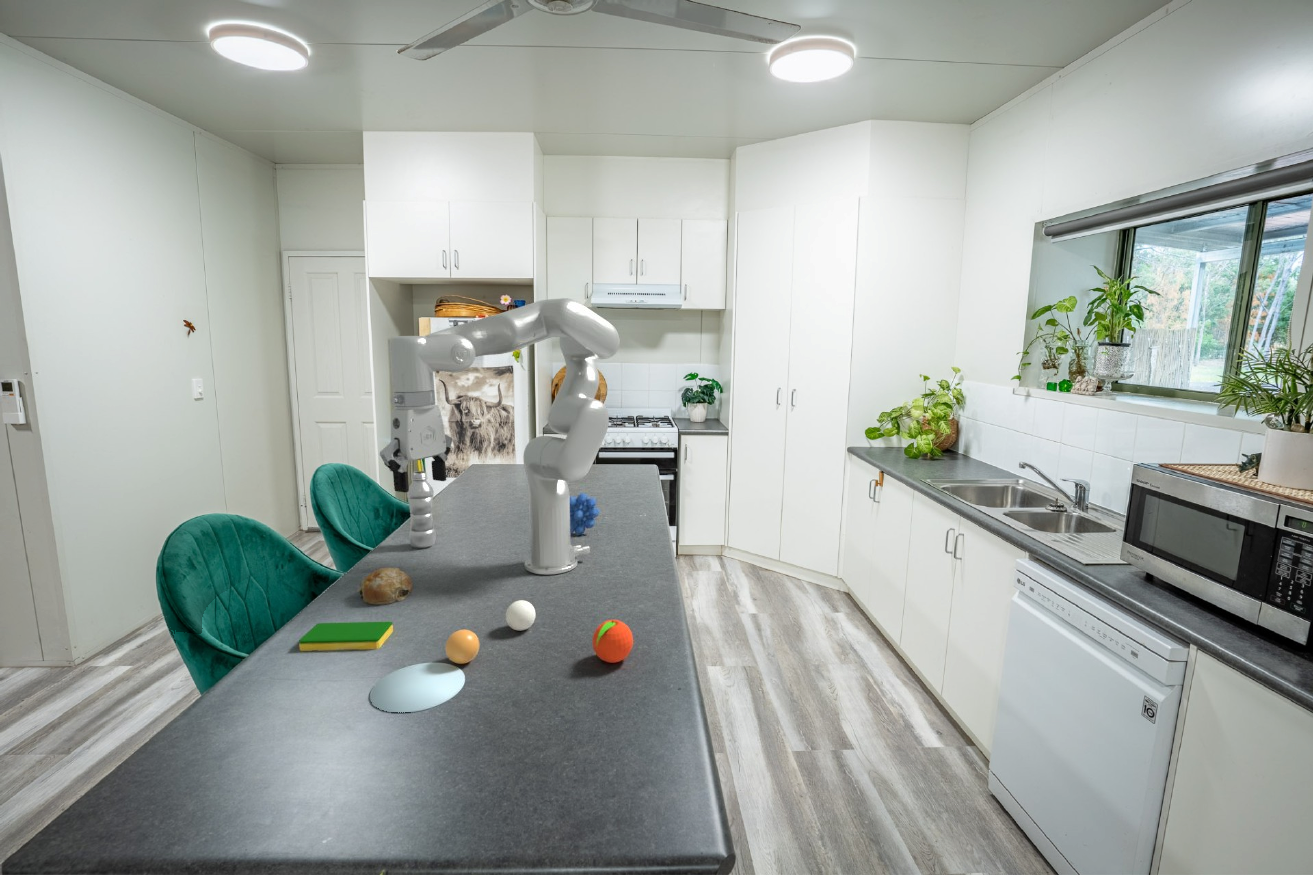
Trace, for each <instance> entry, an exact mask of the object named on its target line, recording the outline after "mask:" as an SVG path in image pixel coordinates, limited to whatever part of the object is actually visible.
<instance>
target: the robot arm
mask: <svg viewBox="0 0 1313 875" xmlns="http://www.w3.org/2000/svg"><path fill="white" fill-rule="evenodd" d="M551 338H558V339H559V340H558V343H559V348H560V351H561V353H562V355H563V359H564V362H565V375H564V378H563V381H562V383H561V385H560V388H559V389H558V392H557V394H556V396H555V398H554V401H553V402H552V404H551V406H550V409H549V411H548V413H547V418H546V419H547V425H548V427H549V428H550V430H551V431H553V432H554V433H556V434H559V435H561V436H562V435H563V436H566V437H565V438H563V437H559V436H558V437H557V436H550V435H540V436H537V437H533V438H532V439H531V440H529V442H528V443H527V444H526V446H525V449H524V451H523V466H524V470H525V473H526V480H527V487H528V488H527V489H528V504H529V505H528V507H529V509H528V510H529V537H530V538H529V539H530V541H529V542H530V557H528V558H527V559H526V560H525V561H524V568H525V570H526V571H528V572H530V573H533V574H536V575H556V574H557V575H558V574H564V573H567V572H569V571H572V570H573V569H575V568H576V567H577V566H578V557H579V556H581V555H588V554H590V553H591V549H590V548H591V547H590V546H589V545H584V546H582V545H581V544H578V545H572V544H571V542H572V541H571V534H570V497H571V496H570V489H569V485H568V483H576V482H579V481H581V480H582V479H584V478H585V477H586V476H587V474H588V473H589V472H590V469H591V468H592V466H593V464H594V461H595V460H596V457H597V455H598V452H599V450H600V448H601V446H602V443H603V442H604V439H605V436H606V433H608V432H607V431H608V429H609V422H610V419H609V418H610V417H609V411H608V409H607V407H606V405H605V404H604V403H603V401H601V400H599V399H596V398H595V397H596V395H597V391H598V389H599V386H600V373H599V370H598V367H597V363H596V361H595V360H608V359H610V358H612V357H614V356H615V355H616V354H617V352H618V350H619V349H620V345H621V344H620V343H621V340H620V335H619V333H618V331H617V329H616V327H615V326H614V325H612V323H610V322H609V321H608V320H607V319H605V318H604V317H602V316H600V315H598V314H597V313H596V312H595V311H593V310H591V309H590V308H588V307H587V306H585V305H583V304H582V303H581V302H579V301H577V300H574V299H572V298H549V299H542V300H538V301H535V302H532V303H529V304H524V305H522V306H520V307H516V308H513V309H510V310H507V311H503V312H500V313H497V314H493V315H489V316H486V317H482V318H480V319H477V320H473V321H469V322H465V323H462V324H458V325H453V326H451V327H447V328H444V329H441V330H438V331H435V332H432V333H429V334H426V335H424V336H423V335H400V336H399V335H398V336H393V337H392V338H391V339H390V340H389V342H388V343H389V345H388V347H389V350H388V351H389V360H390V371H391V380H392V382H391V383H392V384H391V385H392V395H393V396H391V397H390V398H389V400H390V403H391V404H393V406H394V408H392V410H391V417H390V420H391V421H390V442H389V443H388V444H387V445H386V446H385V447H384V448H383V449H382V450H380V452H379V456H380V458H381V459H382V462H383V463H384V465H385V466H386V467H387V469H389V472H392V476H393V478H392V479H393V486H394V487H393V488H394V491H395V492H398V493H406V494H407V492H408V491H409V487H410V484H409V475H408V471H406V468H407V466H408V464H409V462H414V461H420V460H425V459H429V458H432V459H433V460H431V472H432V473H431V474H432V480H433V481H437V482H438V481H439V482H445V481H447V470H446V462H447V461H448V460H449V459H448V456H449V454H450V453H451V447H452V443H453V437H451V436H449V435H446V433H445V432H446V431H445V425H444V420H443V417H442V416H443V415H442V412H441V409H440V405H438V404H436V393H435V391H436V390H435V380H434V377H435V376H434V372H443V373H460V372H463V371H466V370H467V369H469V368H470V367H472V365H473V364H474V362H475V360H476V358H477V357H483V356H492V355H493V356H494V355H502V354H509V353H513V352H516V351H519V350H521V349H523V348H526V347H528V346H531V345H534V344H536V343H539V342H542V341H545V340H548V339H551Z"/></svg>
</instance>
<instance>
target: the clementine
mask: <svg viewBox="0 0 1313 875" xmlns="http://www.w3.org/2000/svg"><path fill="white" fill-rule="evenodd" d="M633 637H634V636H633V633H632V630H631V629H630V627H629V626H628V625H627V624H625V622H622V621H620V620H618V619H609V620H606V621H604V622H602V623H601V624H599V625H598V626H597V628H596V629H595V631H594V633H593V635H592V647H593V648H592V649H593V651H594V652H595V654H596V656H597V657H598V658H599V659H600V660H602V661H604V662H606V663H608V664H609V663H610V664H611V663H613V664H614V663H619V662H621V661H623V660H626V659H625V658H627V657H628V656H629V654H630V653H631V650H632V648H633V645H634V638H633Z"/></svg>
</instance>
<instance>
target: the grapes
mask: <svg viewBox="0 0 1313 875" xmlns="http://www.w3.org/2000/svg"><path fill="white" fill-rule="evenodd" d="M596 505H597V499H596V498H595V497H588V495H587V493H584V492H583V493H579V494H578V495H577V497H575V496H570V535H572V534H576V535H577V536H582V535H583V534H584V533H585V531H586V529H592V528H593V527H594V526H595V524H596V519H595V518H597V517H598V516H599V514H600V509H599V508H598V507H597V506H596ZM595 506H596V507H595Z"/></svg>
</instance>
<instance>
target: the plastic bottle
mask: <svg viewBox="0 0 1313 875" xmlns="http://www.w3.org/2000/svg"><path fill="white" fill-rule="evenodd" d="M410 480H411V481H412V482H411V484H409V491H408V492H406V496H407V497H406V498H407V501H408V506H409V513H410V514H409V515H410V526H409V528H410V530H409V534H408V540H409V543H410V545H411V546H412V548H413V547H414V548H419V549H420V548H427V547H428V548H429V547H431V546H433V545H434V544H435V542H437V541H436V539H437V534H436V529H435V526H434V525H435V524H434V519H433V503H434V494H435V493H434V488H433V487H432V485H431V484H430V482H428V481H427V480H428V474H427V471H424V470H420V471H419V470H417V471H412V472H411V473H410Z"/></svg>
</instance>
